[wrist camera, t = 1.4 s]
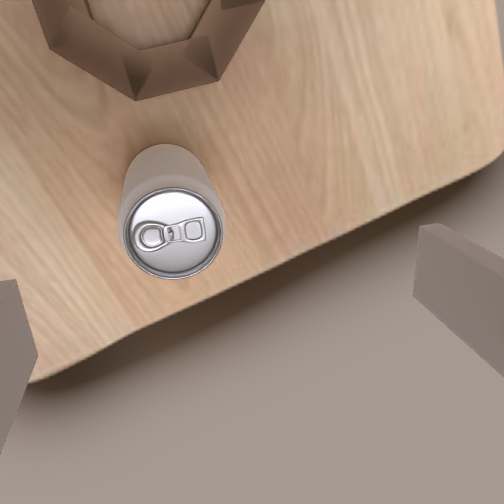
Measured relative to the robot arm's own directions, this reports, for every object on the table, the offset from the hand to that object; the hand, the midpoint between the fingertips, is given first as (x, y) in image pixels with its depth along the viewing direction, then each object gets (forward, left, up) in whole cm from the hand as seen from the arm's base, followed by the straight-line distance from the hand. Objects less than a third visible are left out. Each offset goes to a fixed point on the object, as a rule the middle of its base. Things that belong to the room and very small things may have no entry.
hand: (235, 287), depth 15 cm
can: (0, -3, -24) cm, 24 cm away
